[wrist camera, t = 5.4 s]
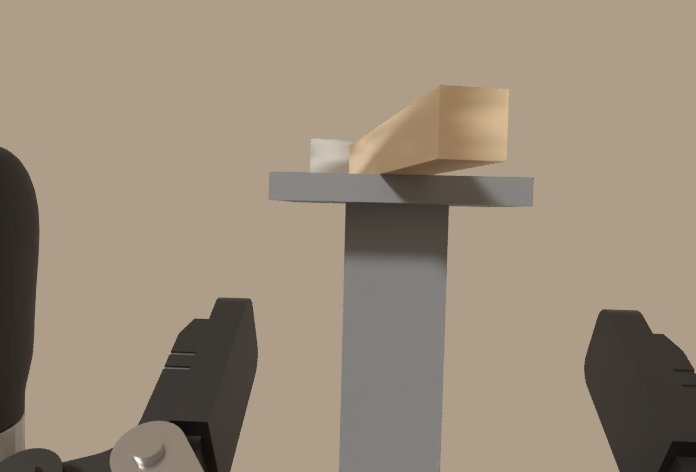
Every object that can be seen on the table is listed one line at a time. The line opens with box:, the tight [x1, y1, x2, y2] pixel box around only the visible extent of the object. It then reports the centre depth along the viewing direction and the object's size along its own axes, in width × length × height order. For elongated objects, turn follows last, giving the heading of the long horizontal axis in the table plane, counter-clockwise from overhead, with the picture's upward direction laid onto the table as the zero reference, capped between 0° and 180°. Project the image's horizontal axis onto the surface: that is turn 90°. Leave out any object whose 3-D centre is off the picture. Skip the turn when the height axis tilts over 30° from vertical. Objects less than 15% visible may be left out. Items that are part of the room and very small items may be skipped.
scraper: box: [310, 85, 509, 175], centre depth 32 cm, size 8×22×3 cm, turn 9°
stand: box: [269, 172, 534, 472], centre depth 37 cm, size 14×12×32 cm
